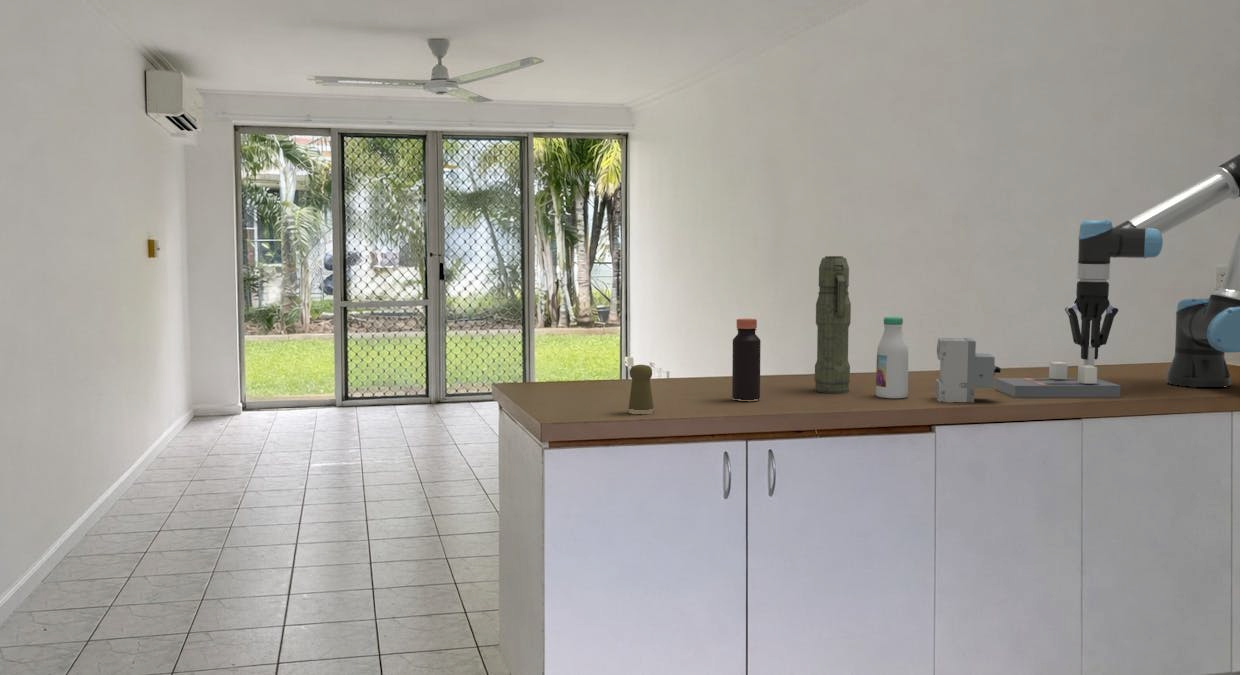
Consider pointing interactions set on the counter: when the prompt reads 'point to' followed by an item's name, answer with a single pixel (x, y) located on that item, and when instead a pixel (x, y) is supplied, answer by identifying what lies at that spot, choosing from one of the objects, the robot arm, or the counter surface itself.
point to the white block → (1087, 374)
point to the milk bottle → (892, 361)
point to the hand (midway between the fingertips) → (1088, 371)
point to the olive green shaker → (641, 388)
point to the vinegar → (746, 361)
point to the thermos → (833, 326)
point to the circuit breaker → (962, 370)
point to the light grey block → (1058, 370)
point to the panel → (1056, 388)
